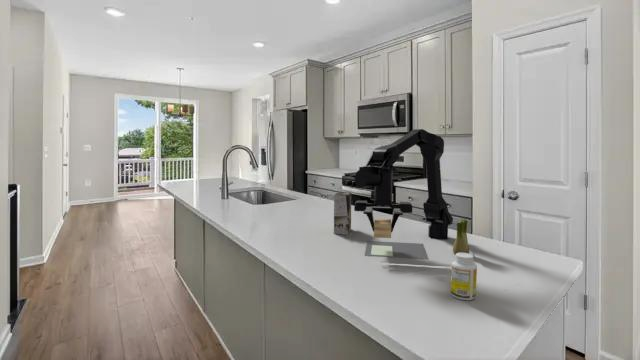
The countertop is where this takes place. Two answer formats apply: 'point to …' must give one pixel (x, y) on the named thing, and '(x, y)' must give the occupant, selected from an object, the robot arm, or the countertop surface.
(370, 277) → the countertop surface
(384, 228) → the oak block
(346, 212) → the coffee box
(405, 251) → the mat
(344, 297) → the countertop surface
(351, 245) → the countertop surface
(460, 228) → the fennel bulb
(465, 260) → the supplement bottle
